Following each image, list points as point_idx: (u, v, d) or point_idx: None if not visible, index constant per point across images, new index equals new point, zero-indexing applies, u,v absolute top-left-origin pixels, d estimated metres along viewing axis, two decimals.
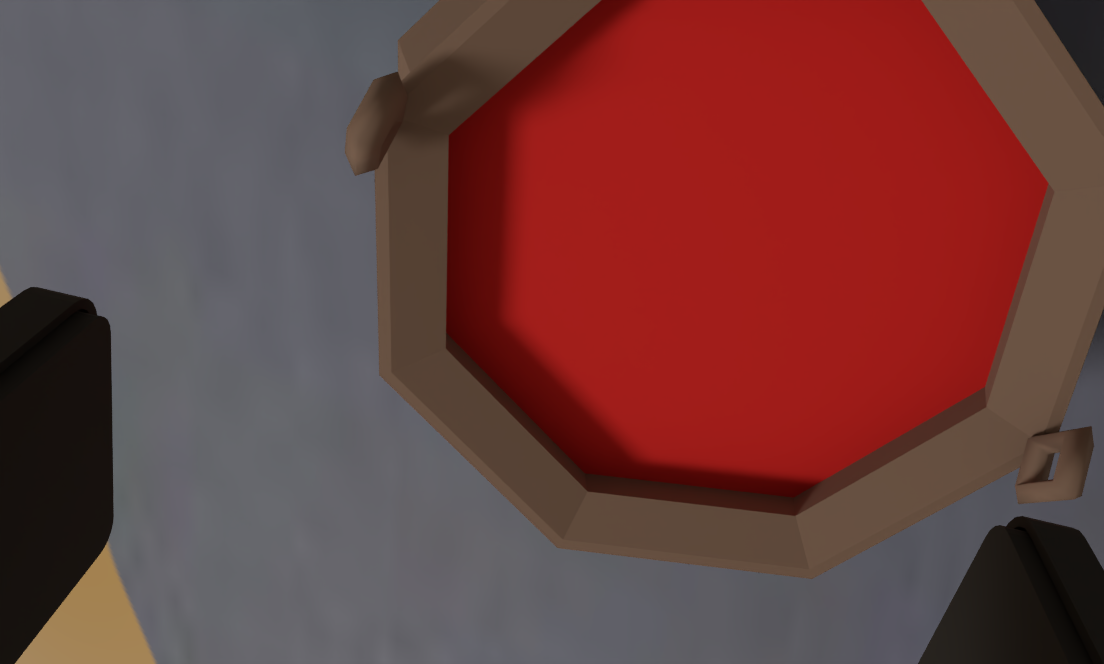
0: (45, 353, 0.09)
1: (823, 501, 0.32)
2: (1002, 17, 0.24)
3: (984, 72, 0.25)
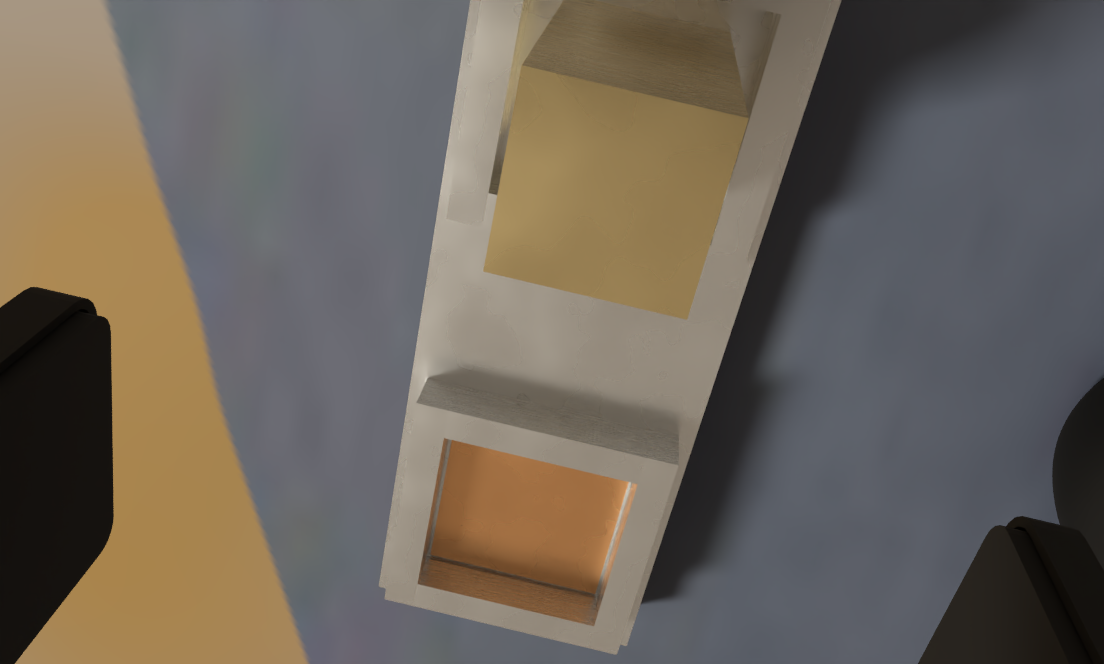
0: (45, 353, 0.09)
1: None
2: None
3: None
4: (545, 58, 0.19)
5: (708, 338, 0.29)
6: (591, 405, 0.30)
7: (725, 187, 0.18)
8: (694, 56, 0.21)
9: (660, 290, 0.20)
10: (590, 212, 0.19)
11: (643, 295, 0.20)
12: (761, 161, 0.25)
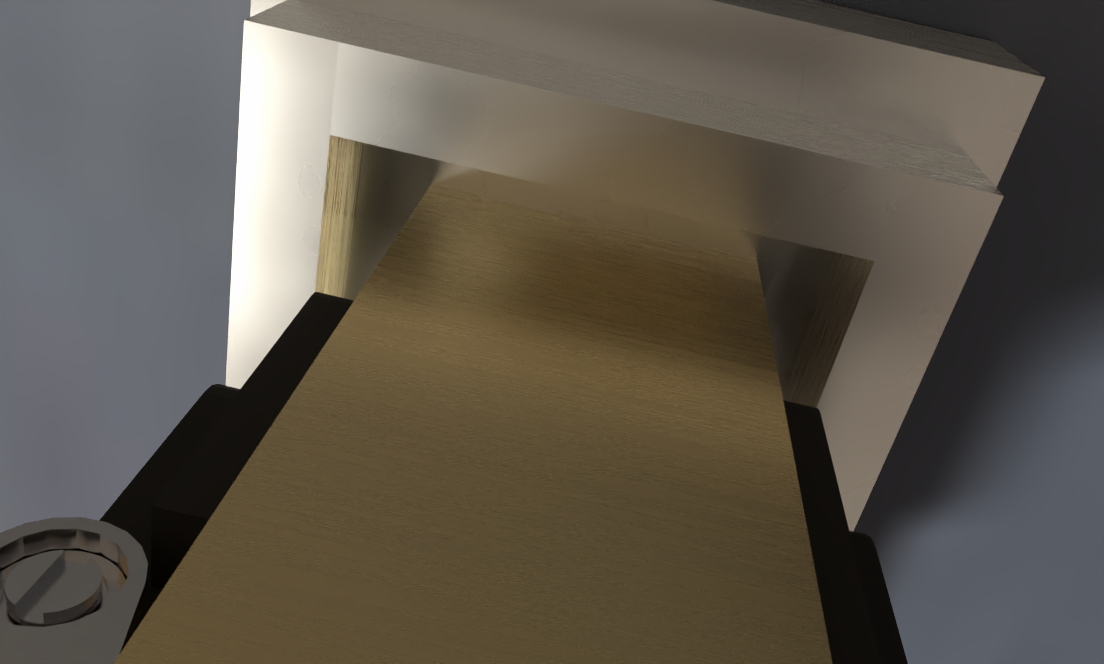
0: None
1: None
2: None
3: None
4: (230, 577, 0.06)
5: None
6: None
7: None
8: (685, 406, 0.09)
9: None
10: None
11: None
12: None
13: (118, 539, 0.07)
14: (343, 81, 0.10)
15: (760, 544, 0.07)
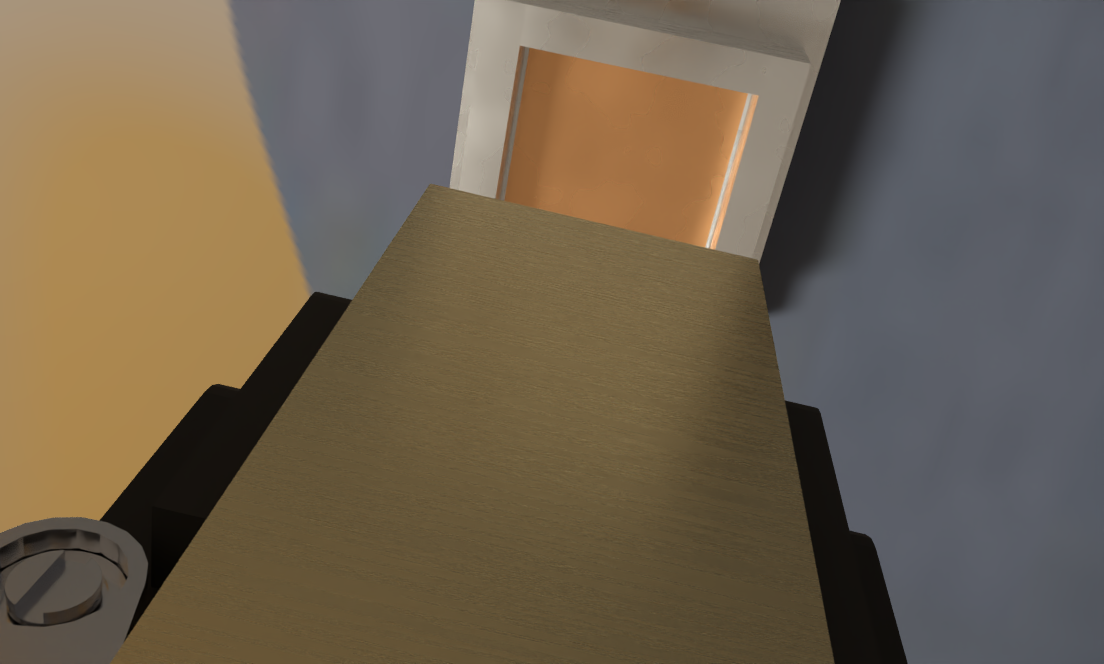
0: None
1: None
2: None
3: None
4: (229, 574, 0.06)
5: None
6: (697, 11, 0.25)
7: None
8: (686, 403, 0.09)
9: None
10: None
11: None
12: None
13: (118, 539, 0.07)
14: None
15: (761, 542, 0.07)
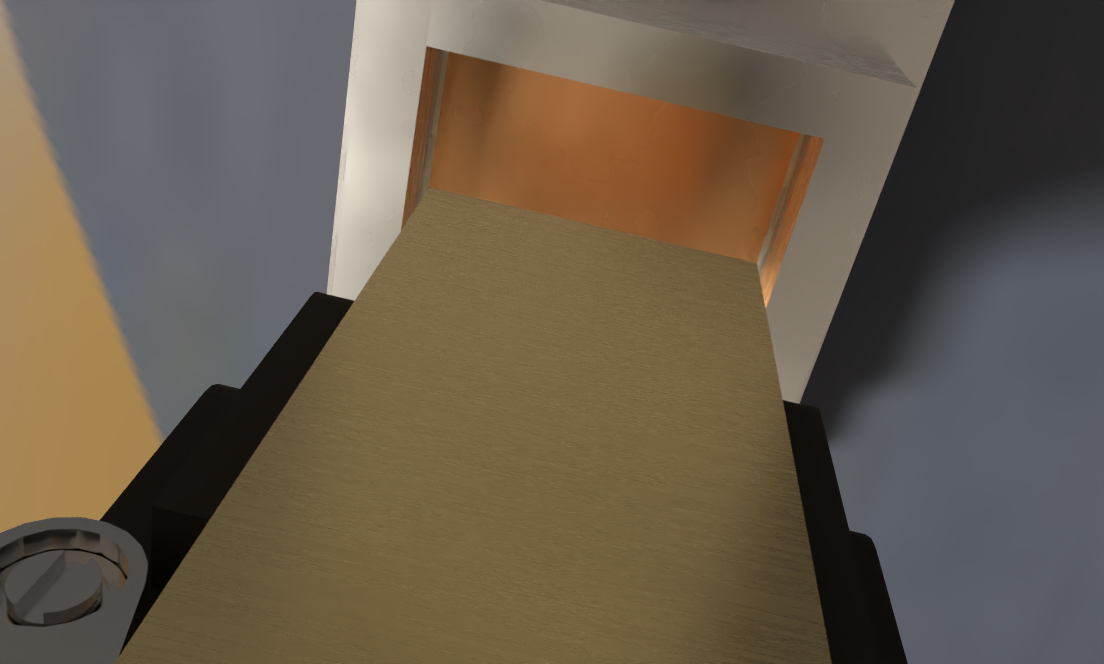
0: None
1: None
2: None
3: None
4: (229, 580, 0.06)
5: None
6: None
7: None
8: (685, 408, 0.09)
9: None
10: None
11: None
12: None
13: (118, 539, 0.07)
14: None
15: (760, 547, 0.07)
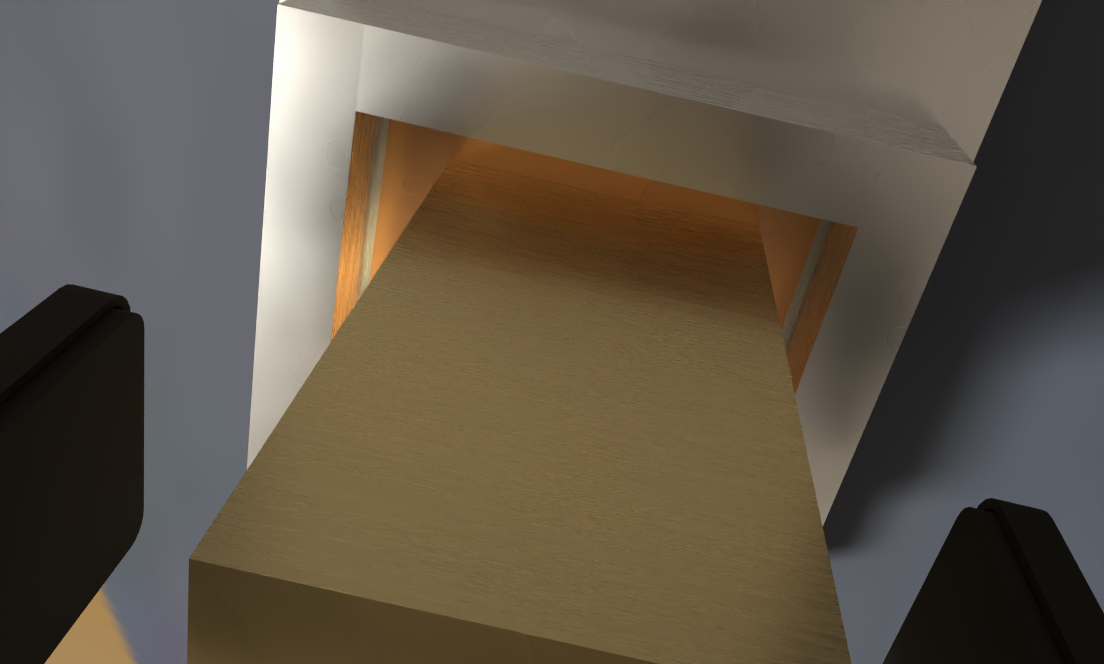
0: (83, 349, 0.09)
1: None
2: None
3: None
4: (291, 483, 0.07)
5: None
6: (729, 44, 0.12)
7: None
8: (694, 350, 0.10)
9: None
10: None
11: None
12: None
13: None
14: None
15: (764, 464, 0.08)
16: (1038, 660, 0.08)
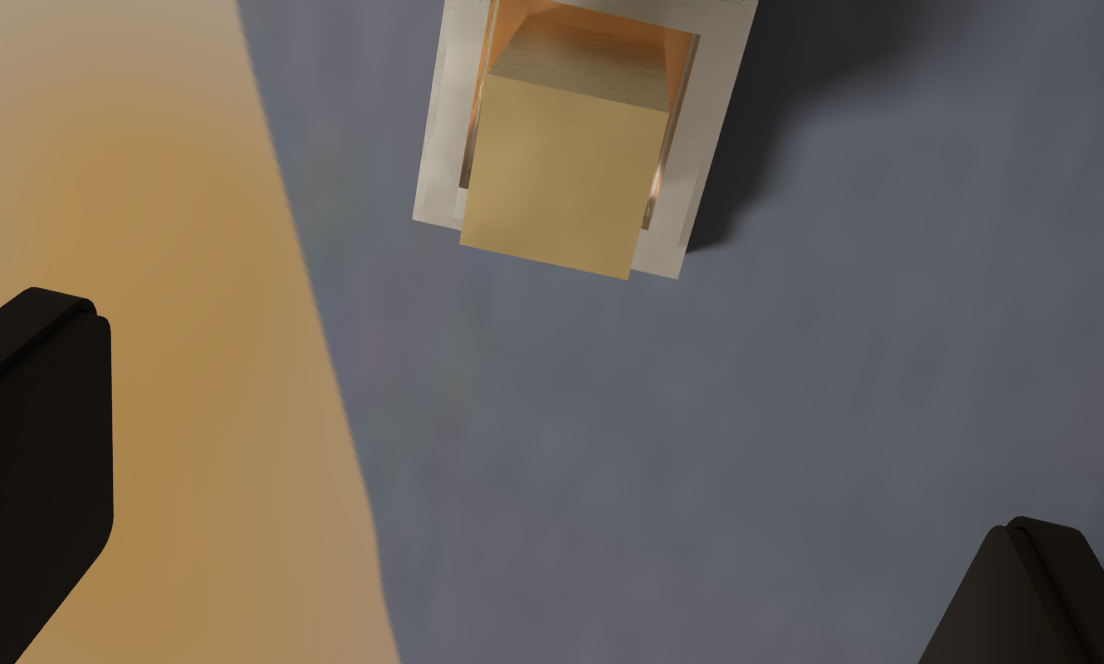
0: (45, 353, 0.09)
1: None
2: None
3: None
4: (506, 68, 0.23)
5: None
6: None
7: (653, 169, 0.23)
8: (630, 66, 0.26)
9: (604, 256, 0.24)
10: (545, 193, 0.23)
11: (591, 260, 0.24)
12: None
13: None
14: None
15: (651, 85, 0.24)
16: None
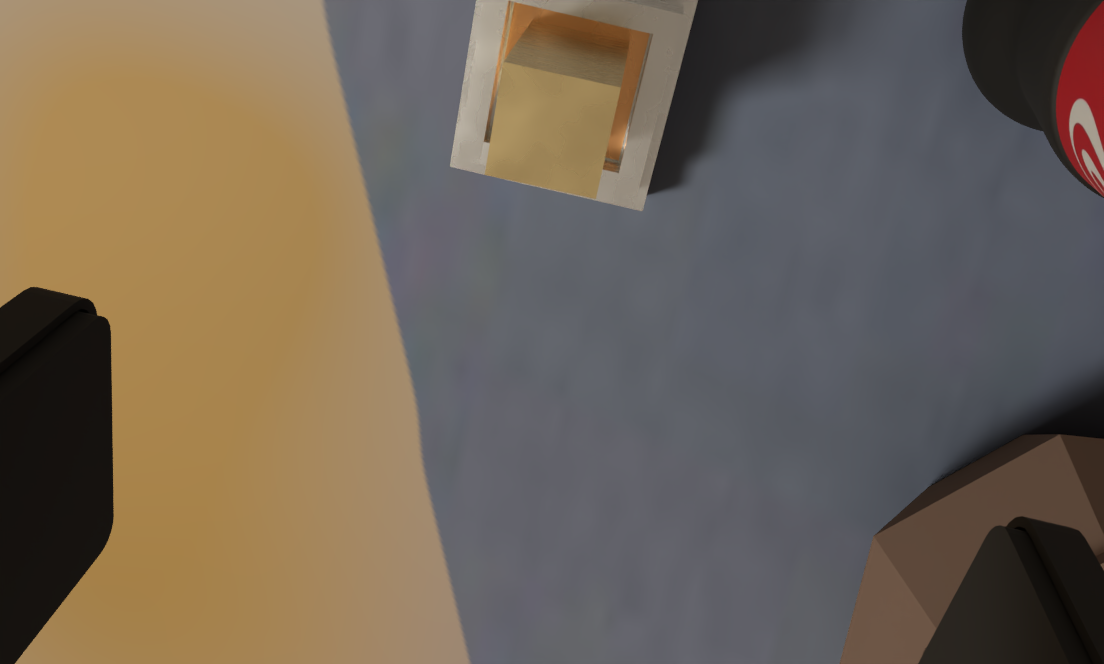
0: (45, 353, 0.09)
1: None
2: None
3: None
4: (516, 58, 0.35)
5: None
6: None
7: (611, 124, 0.35)
8: (601, 56, 0.38)
9: (580, 182, 0.36)
10: (541, 140, 0.36)
11: (571, 185, 0.36)
12: None
13: None
14: None
15: (613, 69, 0.36)
16: None
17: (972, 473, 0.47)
